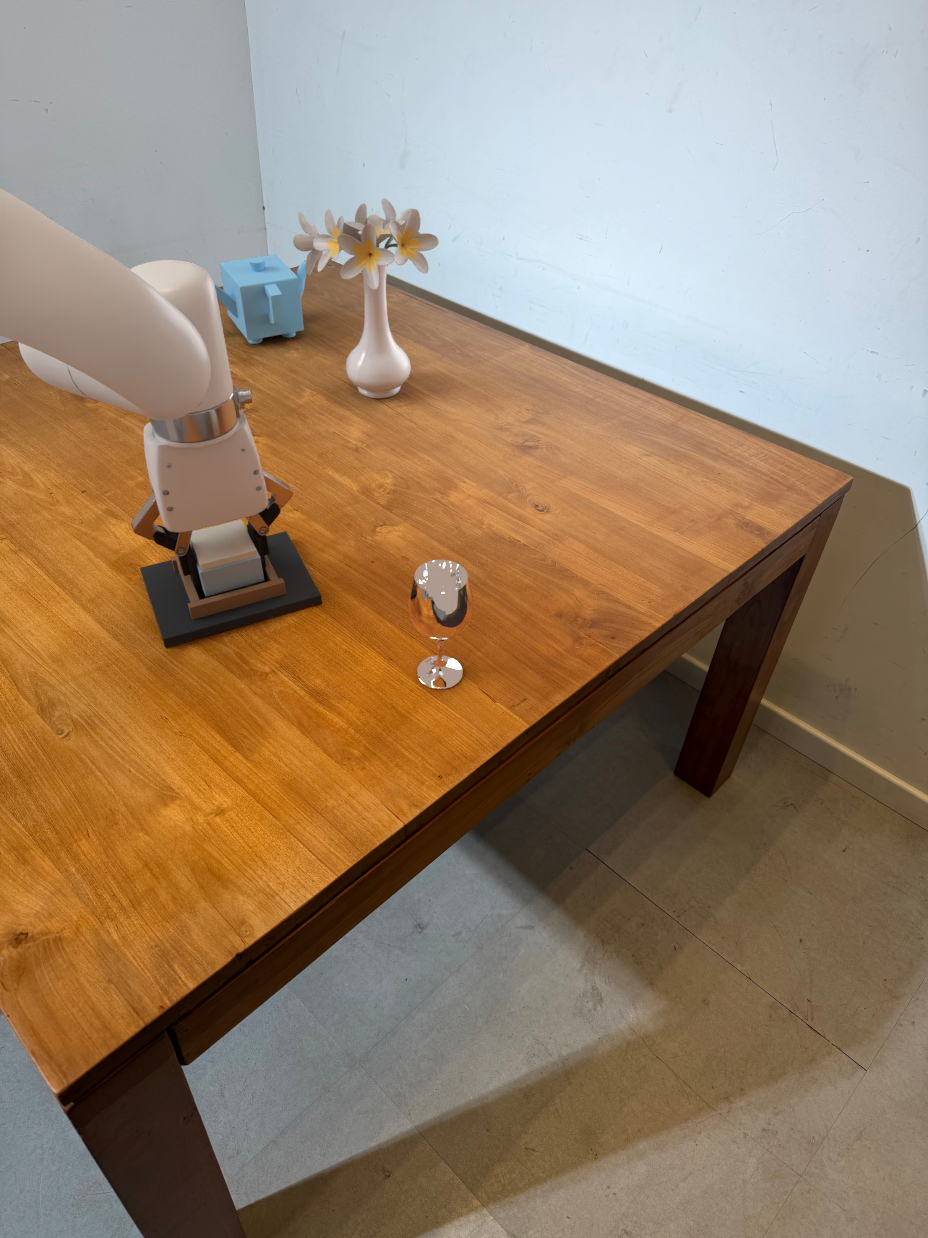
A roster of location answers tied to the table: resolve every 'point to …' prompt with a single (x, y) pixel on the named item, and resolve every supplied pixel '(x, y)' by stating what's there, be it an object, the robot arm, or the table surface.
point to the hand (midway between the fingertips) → (227, 567)
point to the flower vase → (371, 284)
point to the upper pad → (226, 558)
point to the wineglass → (440, 616)
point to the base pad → (228, 595)
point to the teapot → (263, 296)
